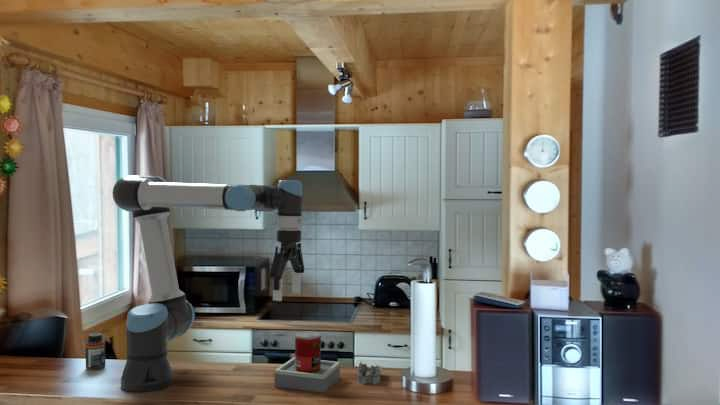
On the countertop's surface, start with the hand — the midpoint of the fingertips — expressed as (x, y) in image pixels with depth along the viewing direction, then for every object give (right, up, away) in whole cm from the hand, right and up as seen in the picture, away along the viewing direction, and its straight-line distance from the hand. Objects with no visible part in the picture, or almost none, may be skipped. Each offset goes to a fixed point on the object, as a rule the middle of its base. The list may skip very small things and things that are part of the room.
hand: (287, 296), depth 179 cm
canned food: (+7, -22, -3) cm, 23 cm away
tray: (+7, -26, -2) cm, 27 cm away
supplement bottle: (-65, -26, +10) cm, 70 cm away
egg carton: (+26, -27, +1) cm, 37 cm away
